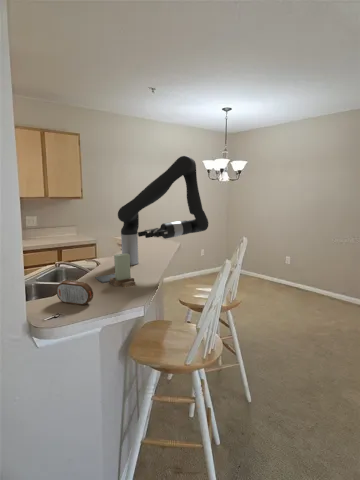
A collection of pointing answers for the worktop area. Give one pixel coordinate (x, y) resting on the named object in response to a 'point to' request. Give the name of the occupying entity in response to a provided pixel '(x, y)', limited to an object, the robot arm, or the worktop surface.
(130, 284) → the offcut top
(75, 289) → the tin
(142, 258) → the worktop surface
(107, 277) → the mat
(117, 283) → the rack
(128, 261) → the sage green upright pillar
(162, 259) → the worktop surface
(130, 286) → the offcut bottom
